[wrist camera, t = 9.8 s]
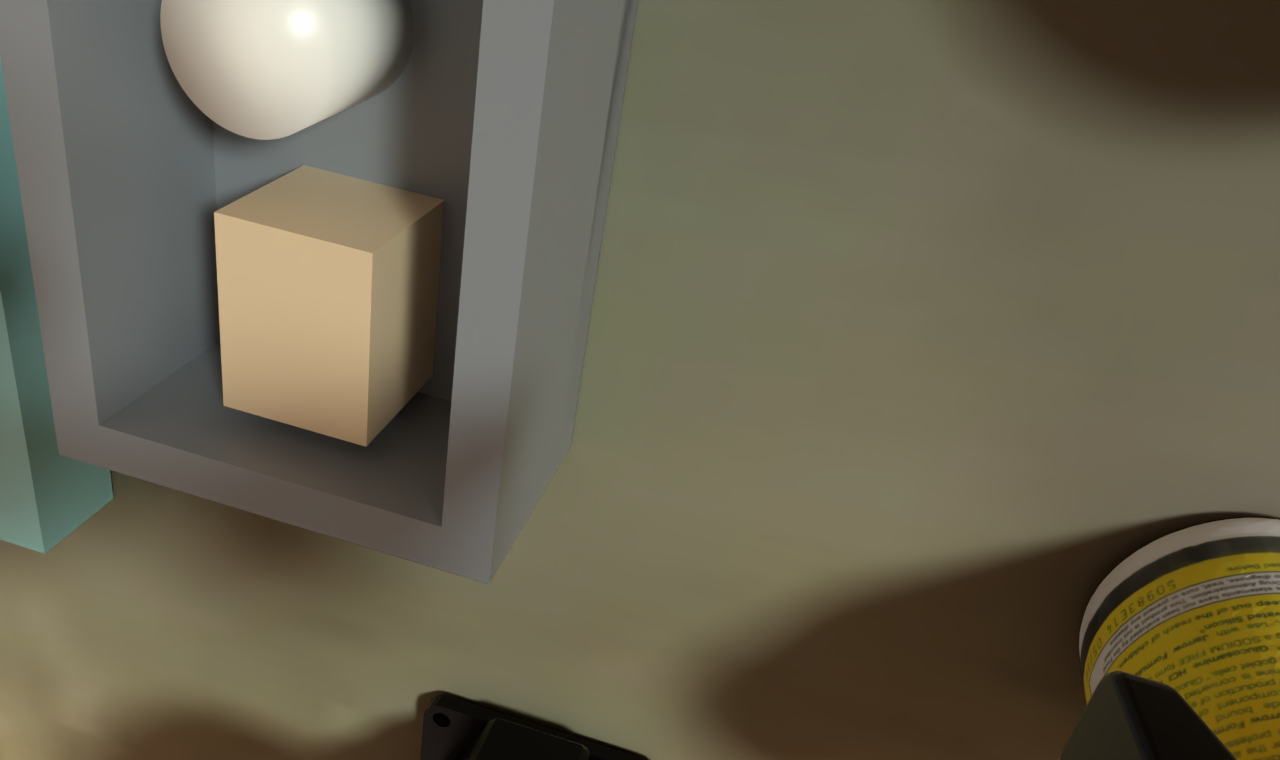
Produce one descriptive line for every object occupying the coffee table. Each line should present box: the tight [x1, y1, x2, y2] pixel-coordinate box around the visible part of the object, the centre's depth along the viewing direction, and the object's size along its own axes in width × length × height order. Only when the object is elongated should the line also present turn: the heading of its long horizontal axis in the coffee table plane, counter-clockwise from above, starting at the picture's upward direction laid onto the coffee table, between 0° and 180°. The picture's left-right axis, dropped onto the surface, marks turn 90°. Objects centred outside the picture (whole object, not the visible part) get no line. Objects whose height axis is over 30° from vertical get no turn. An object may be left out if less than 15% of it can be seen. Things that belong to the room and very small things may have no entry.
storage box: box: [0, 0, 638, 584], centre depth 19 cm, size 12×9×5 cm
